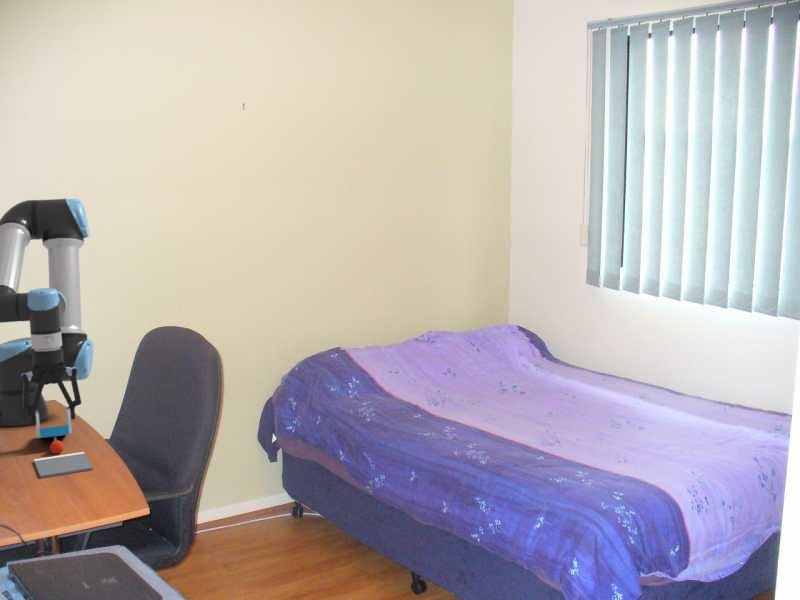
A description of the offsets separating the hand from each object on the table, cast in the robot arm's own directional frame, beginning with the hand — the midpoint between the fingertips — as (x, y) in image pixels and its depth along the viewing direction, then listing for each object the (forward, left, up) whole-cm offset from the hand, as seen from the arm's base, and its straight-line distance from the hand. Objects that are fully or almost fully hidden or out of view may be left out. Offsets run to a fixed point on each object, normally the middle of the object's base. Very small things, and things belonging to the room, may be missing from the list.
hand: (54, 434), depth 258 cm
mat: (+18, +6, -3) cm, 19 cm away
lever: (0, 0, -3) cm, 4 cm away
